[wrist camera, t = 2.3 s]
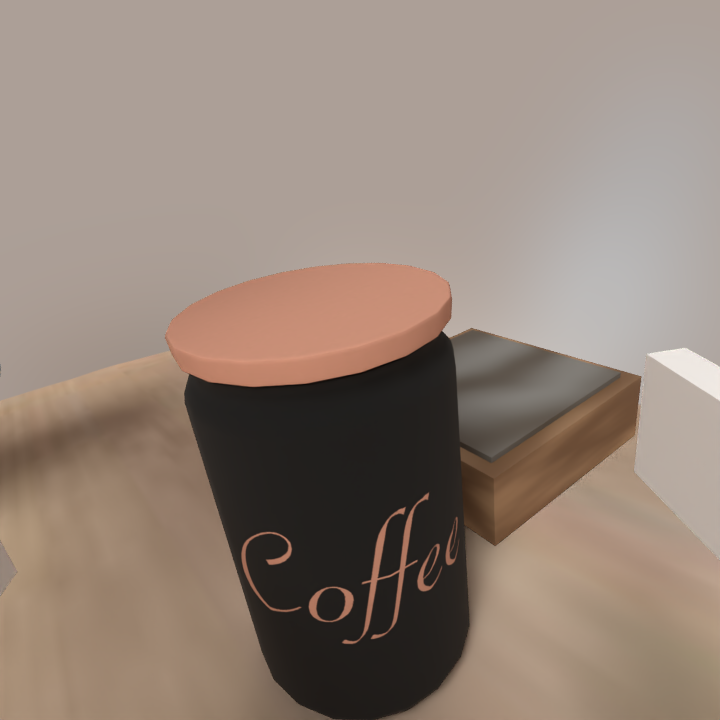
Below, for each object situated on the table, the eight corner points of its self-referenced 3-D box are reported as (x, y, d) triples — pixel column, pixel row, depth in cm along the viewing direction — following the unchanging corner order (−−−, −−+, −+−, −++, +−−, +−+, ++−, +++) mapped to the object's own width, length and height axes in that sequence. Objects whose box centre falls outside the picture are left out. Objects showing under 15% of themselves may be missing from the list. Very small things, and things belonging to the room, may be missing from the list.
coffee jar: (250, 752, 22) (113, 382, 14) (276, 560, 31) (203, 281, 24) (497, 721, 22) (489, 332, 14) (447, 538, 31) (426, 250, 24)
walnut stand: (343, 442, 42) (334, 385, 40) (473, 374, 50) (471, 324, 48) (495, 546, 30) (493, 473, 28) (634, 435, 38) (642, 371, 36)
